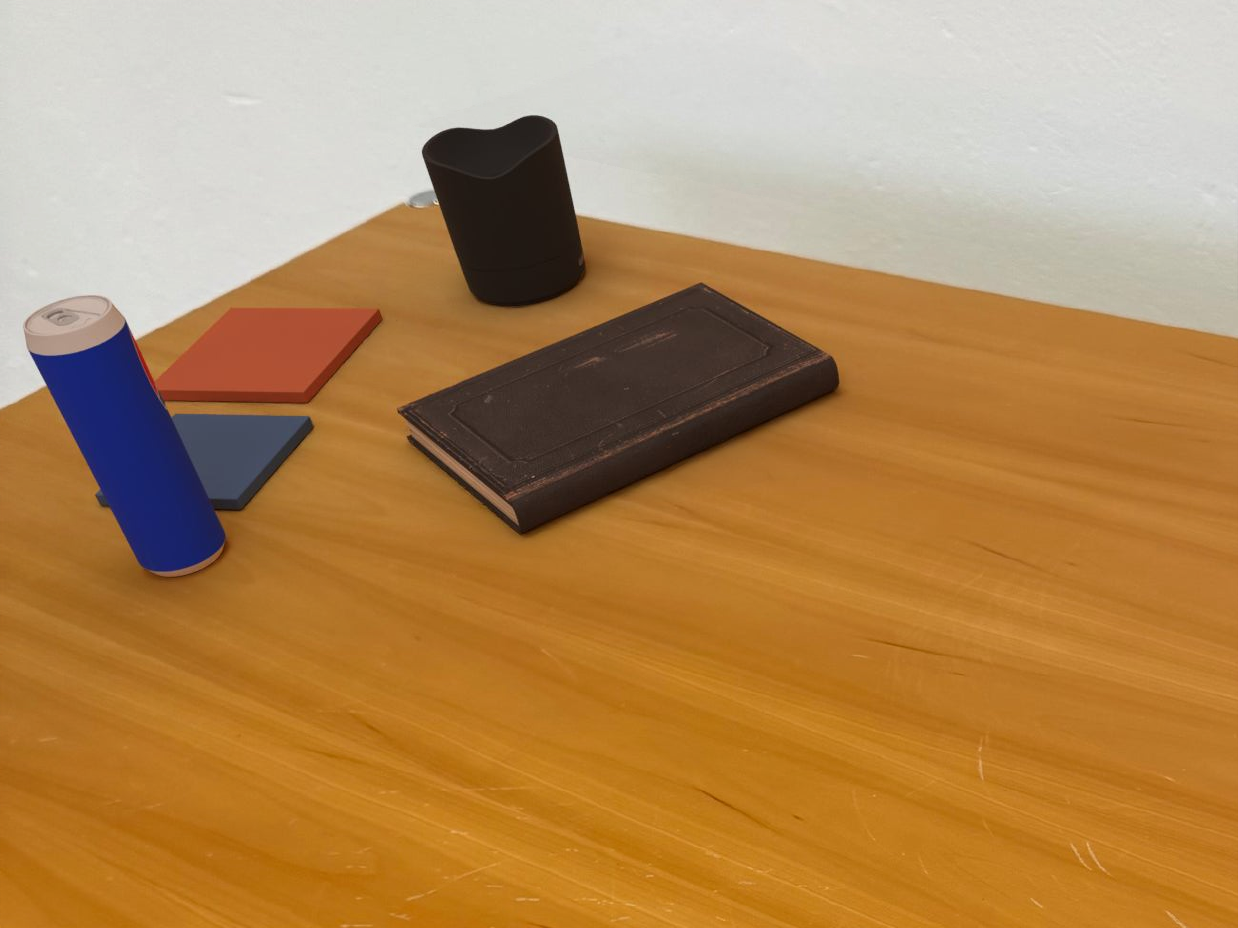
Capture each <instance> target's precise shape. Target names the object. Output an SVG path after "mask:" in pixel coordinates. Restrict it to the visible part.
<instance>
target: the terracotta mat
mask: <svg viewBox="0 0 1238 928" xmlns="http://www.w3.org/2000/svg"><path fill="white" fill-rule="evenodd" d="M382 320H383V316H382V313H381V310H380V308H374V307H373V308H372V307H371V308H370V307H369V308H363V307H361V308H360V307H359V308H354V307H353V308H352V307H351V308H346V307H345V308H344V307H332V308H331V307H328V308H327V307H230V308H229V309H228V310H227V311H226V312H224V314H222V316H221V317H219V319H217V320H216V321H215V323H213V324H212V325H211V326H210V327H209V328H207V330H206V331H205V332H204V333H203V334H202V335H201V336H199V338H198V339H197V340H196V341H195V342H194V343H192V345H190V346H189V348H187V350H186V351H184V352H183V354H181V355H180V356H179V357H178V358H177V359H176V360H175V361H174V362H173V363H172V364H171V365H170V366H169V367H168V368H167V369H166V370H165V371H164V372H163V373H162V374H160V376H158V377H157V378H156V379H155V380H154V381H155V384H156V386H157V388H158V390H159V392H160V394H161V396H162V399H163V401H177V402H178V401H179V402H181V401H183V402H185V401H186V402H232V403H233V402H235V403H236V402H237V403H238V402H239V403H240V402H241V403H242V402H243V403H294V404H295V403H297V404H299V403H300V404H308V403H309V402H310V401H311V400H312V398H314V396H316V394H317V393H318V392H319V391H320V390H321V388H323V386H324V385H325V384H326V383H327V382H328V381H329V379H331V378H332V376H333V375H334V374H335V373H336V372H337V371H338V369H339V368H340V367H341V366H342V365H343V364H344V363H345V361H346V360H347V359H348V358H349V357H350V356H351V355H352V354H353V353H354V351H355V350H356V349H357V348H358V347H359V346H360V345H361V344H362V342H364V340H365V339H366V338H367V337H368V336H369V335H370V334H371V332H373V330H374V329H375V328H376V327H377V326H378V324H380V323H381V322H382Z"/></svg>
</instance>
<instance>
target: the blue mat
mask: <svg viewBox="0 0 1238 928" xmlns="http://www.w3.org/2000/svg"><path fill="white" fill-rule="evenodd" d="M171 418H172V420H173V422H174V424H175V426H176V429H177V431H178V433H179V435H180V437H181V439H182V441H183V444H184V446H185V448H186V450H187V452H188V454H189V456H190V459H191V461H192V463H193V465H194V467H195V469H196V471H197V474H198V476H199V478H200V480H201V482H202V484H203V486H204V489H205V491H206V493H207V495H208V497H209V499H210V501H211V504H212V506H213V508H214V510H231V511H233V510H235V511H236V510H237V511H241V510H243V508H244V507H245V506H246V505H247V504H248V503H249V501H250V500H252V498H253V497H254V496H255V495H256V494H257V493H258V492H259V490H260V489H261V488H262V487H263V486H264V484H265V483H266V482H267V480H269V479H270V477H271V476H272V475H273V474H274V473H275V472H276V471H277V469H279V467H280V466H281V465H282V464H283V462H284V461H285V460H286V459H287V458H288V457H289V456H290V455H291V453H292V452H293V451H294V450H295V449H296V448H297V446H298V445H299V444H300V443H301V442H302V441H303V439H305V437H306V436H307V435H308V434H309V433H310V432H311V430H312V429H313V428H314V424H313V421H312V418H311V416H309V415H276V414H275V415H274V414H273V415H271V414H270V415H269V414H267V415H266V414H223V413H222V414H221V413H219V414H218V413H217V414H215V413H214V414H213V413H174V414H173V415H171ZM94 496H95V498H96V500H97V502H98V504H99V506H108V507H109V505H108V503H107V501H106V499H105V497H104V495H103V493H102V491H101V489H100V488H99V490H98V491H97V492H96V493H95V494H94Z"/></svg>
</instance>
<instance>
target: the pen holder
mask: <svg viewBox="0 0 1238 928" xmlns="http://www.w3.org/2000/svg"><path fill="white" fill-rule="evenodd" d="M421 156H422V159H423V162H424V164H425V167H426V171H427V174H428V177H429V179H430V182H431V185H432V188H433V191H434V194H435V197H436V200H437V202H438V206H439V209H440V211H441V214H442V217H443V220H444V223H445V226H446V229H447V231H448V235H449V237H450V240H451V243H452V245H453V246H452V247H453V249H454V252H455V255H456V258H457V260H458V263H459V266H460V269H461V272H462V274H463V277H464V279H465V282H466V285H467V287H468V289H469V291H470V293H471V294H472V295H473V296H475V297H476V298H477V299H479V301H481V302H484V303H486V304H490V305H494V306H501V307H502V306H503V307H505V306H506V307H509V306H510V307H511V306H512V307H515V306H516V307H517V306H524V305H530V304H531V305H532V304H536V303H540V302H544V301H547V300H550V299H552V298H555V297H558V296H560V295H562V294H564V293H566V292H568V291H569V290H571V289H573V288H574V287H575V286H576V285H577V284H578V283H579V282H580V281H581V279H582V277H583V274H584V272H585V270H586V261H585V256H584V255H585V254H584V250H583V245H582V239H581V234H580V229H579V224H578V219H577V214H576V209H575V205H574V200H573V199H574V198H573V195H572V189H571V184H570V181H569V177H568V171H567V167H566V162H565V158H564V152H563V147H562V142H561V138H560V133H559V127H558V125H557V124H556V122H554V121H553V120H552V119H551V118H548V117H547V116H546V117H545V116H543V115H538V114H530V115H524V116H522V117H519V118H516V119H515V120H513V121H511V122H509V123H506V124H504V125H502V126H500V127H499V126H498V127H495V128H489V129H487V128H486V129H485V128H472V127H458V126H457V127H452V128H451V127H450V128H447V129H444V130H442V131H440V132H438V133H436V134H434V135H432V136H431V137H430V138H429V139H427V141H426V142H425V143H424V144H423V147H422V149H421Z"/></svg>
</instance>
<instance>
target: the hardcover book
mask: <svg viewBox="0 0 1238 928" xmlns="http://www.w3.org/2000/svg"><path fill="white" fill-rule="evenodd" d="M838 369H839V368H838V365H837V363H836V360H835V358H834V357H833V356H832V355H831V354H830V353H828V352H826V351H824V350H823V349H820V348H818V347H817V346H815V345H813V344H812V343H810V342H808V341H806V340H805V339H803V338H801V337H799V336H798V335H796V334H794V333H792V332H790V331H788V330H787V329H785V328H783V327H782V326H780V325H778V324H776V323H774V322H773V321H771V320H769V319H767V318H766V317H764V316H762V315H761V314H759V313H757V312H755V311H753V310H751V309H749V308H748V307H746V306H745V305H743V304H741V303H739V302H737V301H735V300H734V299H733V298H730V297H728V296H727V295H725V294H724V293H721V292H719V291H718V290H716V289H714V288H712V287H711V286H709V285H707V284H705V283H704V282H697V283H695V284H694V285H691V286H689V287H686V288H684V289H682V290H680V291H677V292H674V293H672V294H669V295H667V296H665V297H662V298H660V299H658V300H655V301H652V302H650V303H648V304H645V305H643V306H641V307H638V308H636V309H633V310H630V311H628V312H626V313H624V314H621V315H618V316H617V317H614V318H611V319H609V320H607V321H604V322H602V323H599V324H597V325H594V326H592V327H590V328H587V329H585V330H582V331H579V332H578V333H575V334H573V335H570V336H568V337H566V338H563V339H561V340H558V341H556V342H553V343H551V344H549V345H547V346H544V347H542V348H539V349H536V350H535V351H531V352H529V353H527V354H525V355H522V356H520V357H517V358H515V359H513V360H510V361H508V362H505V363H503V364H500V365H498V366H495V367H493V368H491V369H489V370H486V371H483V372H481V373H478V374H476V375H474V376H471V377H469V378H467V379H464V380H461V381H459V382H457V383H455V384H452V385H449V386H447V387H445V388H443V389H440V390H437V391H435V392H433V393H431V394H428V395H425V396H423V397H420V398H418V399H416V400H413V401H410V402H409V403H406V404H403V405H401V406H399V407H397V408H396V411H397V414H399V415H400V416H401V417H402V418H404V419H405V420H406V425H405V426H406V427H407V428H408V429H409V431H410V434H409V435H406V440H407V441H409V442H410V443H411V444H412V445H413V446H414V447H415V448H417V449H418V450H419V451H420V452H421V453H423V454H424V455H425V456H426V457H428V458H429V460H431V461H432V462H433V463H434V464H436V465H437V466H438V467H439V468H441V469H442V470H443V471H444V472H445V473H446V474H448V475H449V476H450V477H451V478H452V479H453V480H455V481H456V482H457V483H458V484H460V485H461V486H462V487H463V488H464V489H465V490H467V491H468V492H469V493H470V494H471V495H473V496H474V497H475V498H476V499H477V500H478V501H479V502H481V503H482V504H483V505H485V507H487V508H488V509H489V510H490V511H491V512H493V513H494V514H495V515H496V516H497V517H499V518H500V519H501V520H502V521H503V522H504V523H506V524H507V525H508V526H509V527H511V528H512V529H513V530H514V531H515V532H516V533H518V534H523V533H525V532H528V531H530V530H532V529H533V528H537V527H539V526H540V525H542V524H545V523H547V522H549V521H551V520H553V519H556V518H558V517H560V516H562V515H565V514H567V513H568V512H569V513H570V512H571V511H573V510H576V509H577V508H580V507H582V506H584V505H587V504H589V503H591V502H593V501H595V500H597V499H599V498H601V497H604V496H606V495H608V494H610V493H612V492H614V491H616V490H619V489H621V488H623V487H625V486H628V485H630V484H632V483H635V482H636V481H638V480H641V479H643V478H645V477H647V476H649V475H652V474H653V473H656V472H658V471H660V470H662V469H665V468H667V467H669V466H671V465H673V464H675V463H678V462H681V461H682V460H684V459H686V458H688V457H691V456H692V455H695V454H697V453H700V452H702V451H703V450H706V449H708V448H710V447H712V446H714V445H716V444H719V443H721V442H723V441H726V440H728V439H730V438H732V437H735V436H736V435H739V434H741V433H742V432H745V431H747V430H749V429H752V428H755V427H757V426H758V425H761V424H762V423H765V422H766V421H769V420H771V419H773V418H775V417H778V416H780V415H782V414H784V413H787V412H789V411H790V410H793V409H795V408H797V407H799V406H802V405H804V404H806V403H808V402H810V401H812V400H815V399H818V398H819V397H821V396H824V395H826V394H828V393H830V392H832V391H834V390H836V389H838V388H839V385H840V375H839V370H838Z"/></svg>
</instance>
